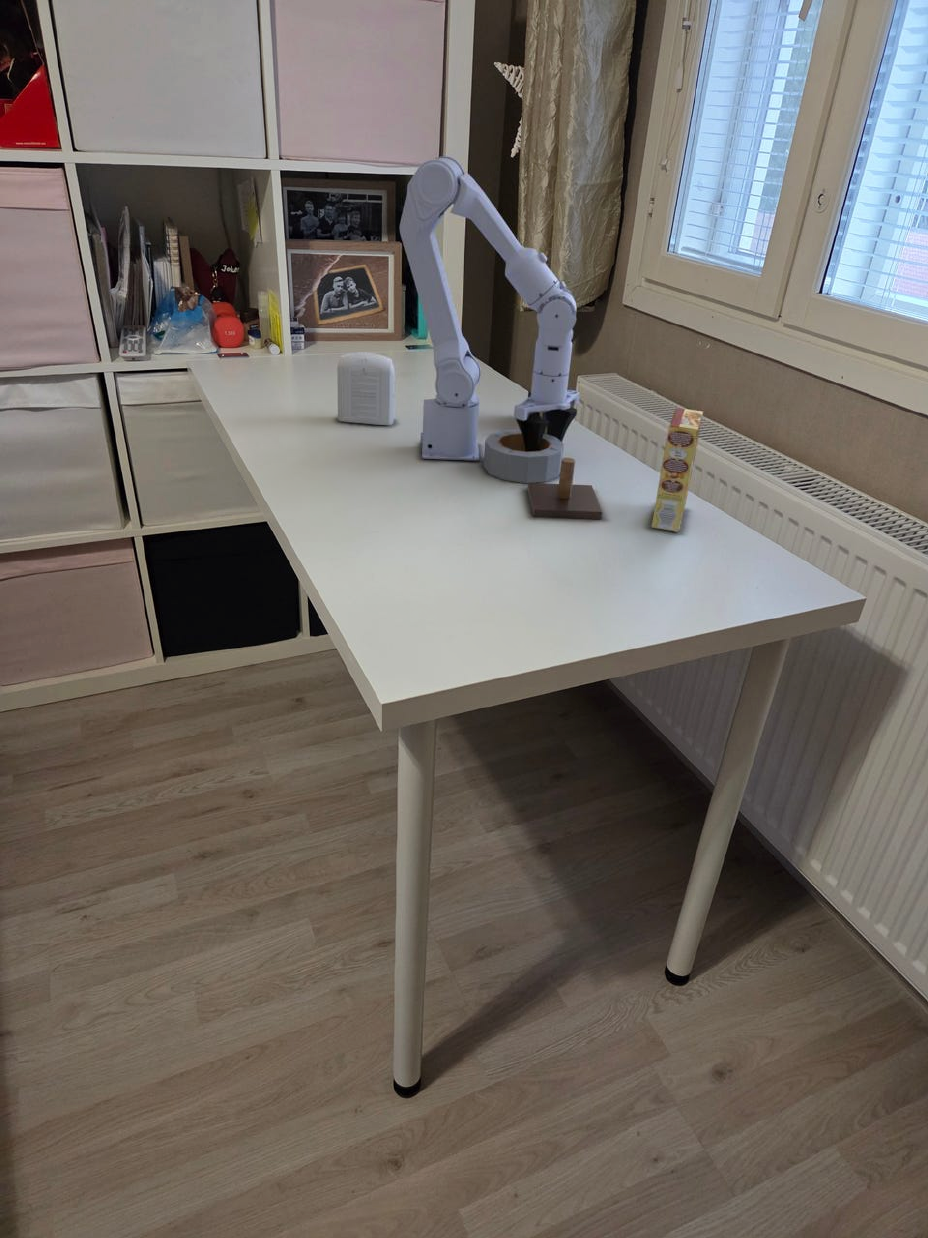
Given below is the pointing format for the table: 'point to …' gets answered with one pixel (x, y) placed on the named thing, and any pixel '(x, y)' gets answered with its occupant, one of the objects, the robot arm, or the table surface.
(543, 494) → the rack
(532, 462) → the tape roll
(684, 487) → the candy box
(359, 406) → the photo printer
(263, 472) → the table surface
